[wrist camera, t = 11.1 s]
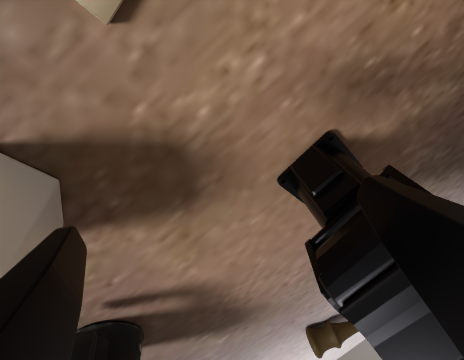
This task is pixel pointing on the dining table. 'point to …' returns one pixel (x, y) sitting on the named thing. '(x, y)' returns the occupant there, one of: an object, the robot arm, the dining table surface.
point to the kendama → (329, 336)
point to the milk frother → (108, 342)
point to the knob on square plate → (102, 8)
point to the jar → (25, 210)
